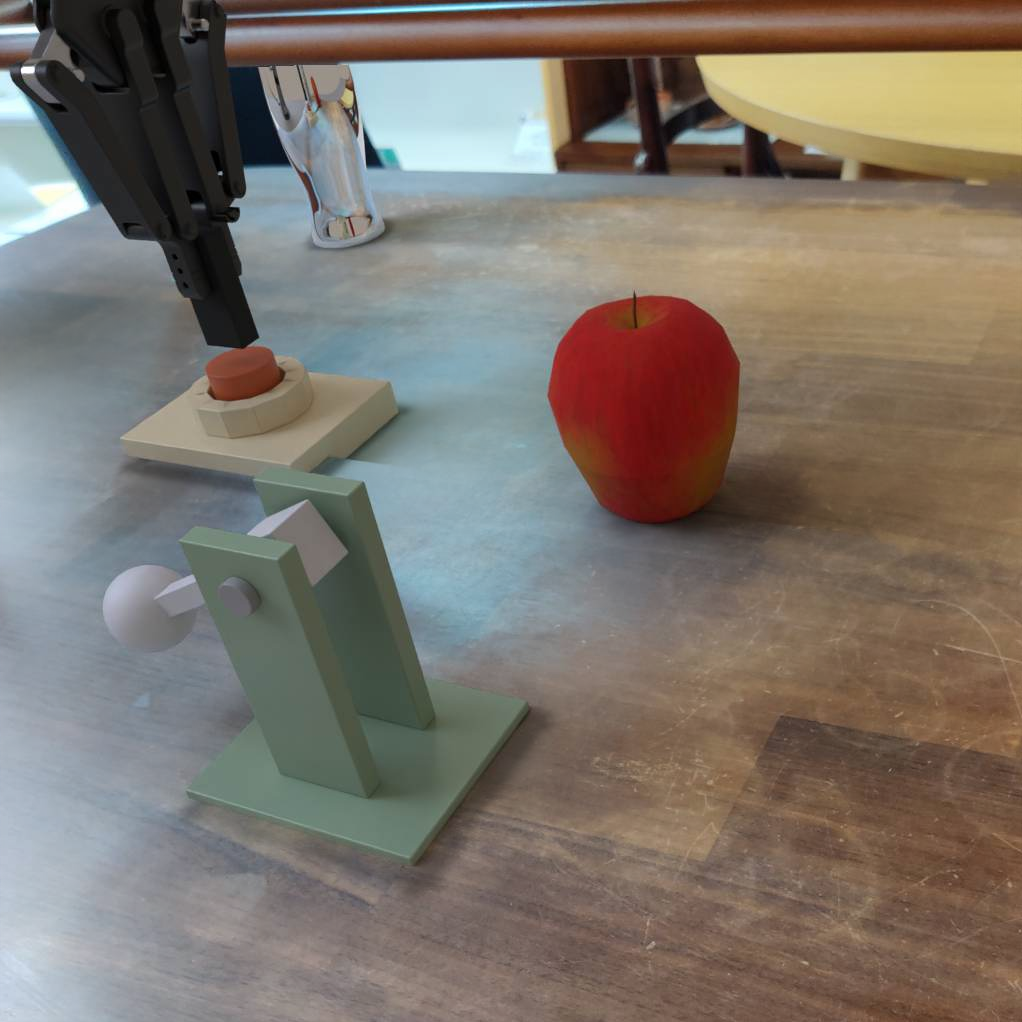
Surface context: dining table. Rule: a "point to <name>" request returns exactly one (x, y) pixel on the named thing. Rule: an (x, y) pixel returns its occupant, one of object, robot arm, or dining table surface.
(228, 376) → the button
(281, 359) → the cream button base
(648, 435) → the apple
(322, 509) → the bracket
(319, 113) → the beer glass
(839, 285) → the dining table surface
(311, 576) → the tap lever
